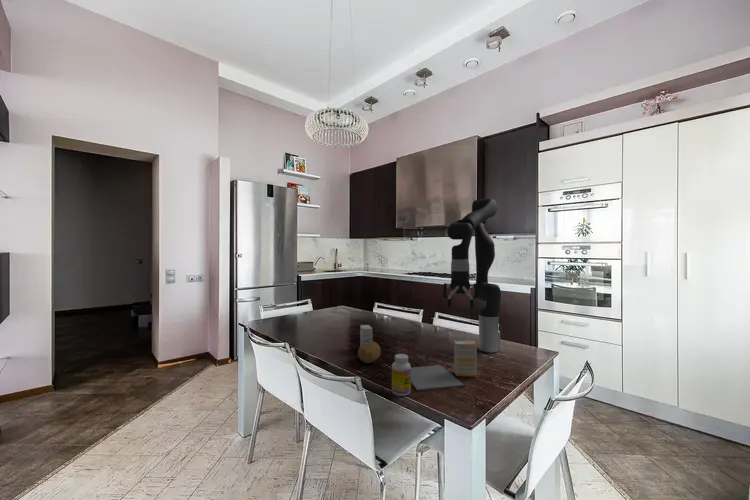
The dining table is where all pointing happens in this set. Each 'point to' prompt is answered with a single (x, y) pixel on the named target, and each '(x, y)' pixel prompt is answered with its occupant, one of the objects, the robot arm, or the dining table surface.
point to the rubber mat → (433, 378)
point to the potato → (369, 352)
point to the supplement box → (465, 358)
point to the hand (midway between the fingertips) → (460, 307)
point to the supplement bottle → (401, 376)
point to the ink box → (365, 334)
